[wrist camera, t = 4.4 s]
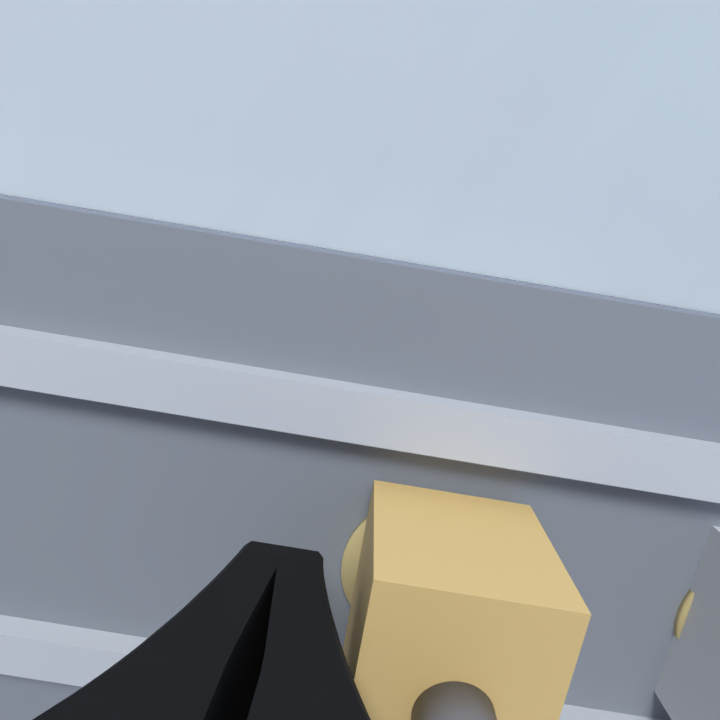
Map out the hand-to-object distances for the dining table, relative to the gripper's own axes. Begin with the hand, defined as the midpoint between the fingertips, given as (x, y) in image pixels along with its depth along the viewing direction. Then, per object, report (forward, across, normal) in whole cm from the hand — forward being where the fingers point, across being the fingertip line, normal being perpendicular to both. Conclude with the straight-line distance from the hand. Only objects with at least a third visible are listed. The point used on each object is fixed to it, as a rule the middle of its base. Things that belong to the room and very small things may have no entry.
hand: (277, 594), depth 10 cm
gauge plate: (+3, -2, 0) cm, 3 cm away
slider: (+1, -3, 0) cm, 3 cm away
